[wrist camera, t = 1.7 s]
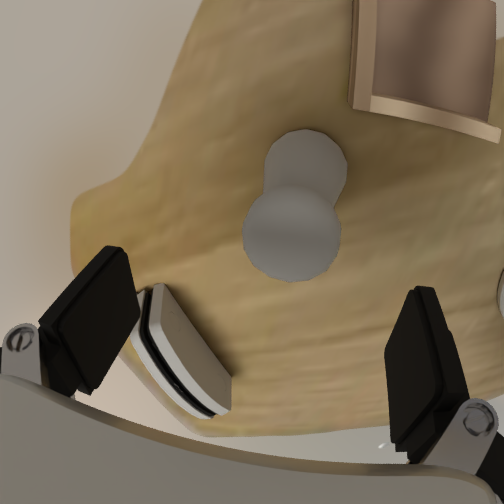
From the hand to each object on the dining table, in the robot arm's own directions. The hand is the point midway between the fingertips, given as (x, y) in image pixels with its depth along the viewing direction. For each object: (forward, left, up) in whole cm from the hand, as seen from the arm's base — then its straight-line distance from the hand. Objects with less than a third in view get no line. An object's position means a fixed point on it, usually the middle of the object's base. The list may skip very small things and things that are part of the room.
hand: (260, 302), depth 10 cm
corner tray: (-9, -10, -17) cm, 21 cm away
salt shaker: (-1, 0, -17) cm, 17 cm away
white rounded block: (+10, +22, -17) cm, 30 cm away
